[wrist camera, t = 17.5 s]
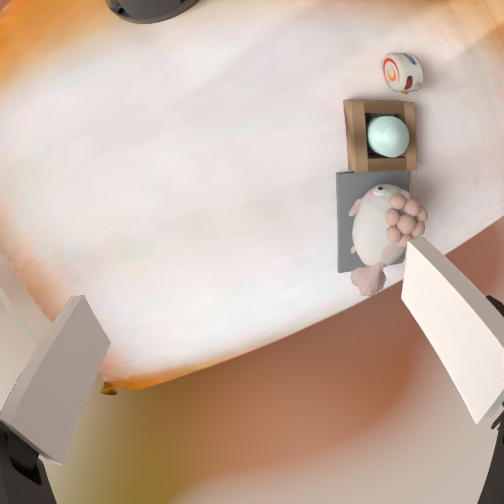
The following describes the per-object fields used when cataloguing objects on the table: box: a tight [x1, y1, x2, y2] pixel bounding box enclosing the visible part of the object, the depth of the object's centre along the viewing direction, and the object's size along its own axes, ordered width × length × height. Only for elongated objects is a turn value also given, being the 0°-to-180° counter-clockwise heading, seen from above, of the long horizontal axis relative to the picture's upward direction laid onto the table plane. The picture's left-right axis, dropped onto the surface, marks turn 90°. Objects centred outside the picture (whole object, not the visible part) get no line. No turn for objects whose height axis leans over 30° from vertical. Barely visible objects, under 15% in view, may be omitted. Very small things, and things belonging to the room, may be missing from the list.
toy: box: [348, 184, 428, 297], centre depth 37 cm, size 10×15×10 cm, turn 161°
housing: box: [343, 99, 417, 173], centre depth 35 cm, size 10×10×3 cm
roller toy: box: [382, 53, 424, 94], centre depth 29 cm, size 4×6×6 cm
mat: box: [336, 170, 409, 273], centre depth 42 cm, size 16×12×1 cm
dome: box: [366, 116, 409, 157], centre depth 34 cm, size 6×6×4 cm
